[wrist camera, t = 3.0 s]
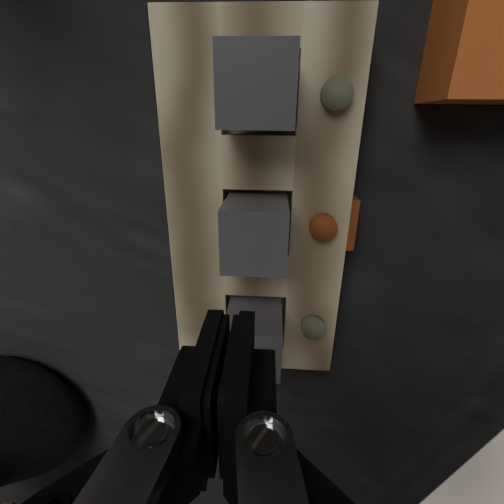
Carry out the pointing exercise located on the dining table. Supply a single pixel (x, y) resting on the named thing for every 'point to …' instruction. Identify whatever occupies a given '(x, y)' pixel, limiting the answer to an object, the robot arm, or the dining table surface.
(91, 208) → the dining table surface
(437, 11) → the cap
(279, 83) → the block
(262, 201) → the block
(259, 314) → the block
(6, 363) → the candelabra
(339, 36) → the breaker board
